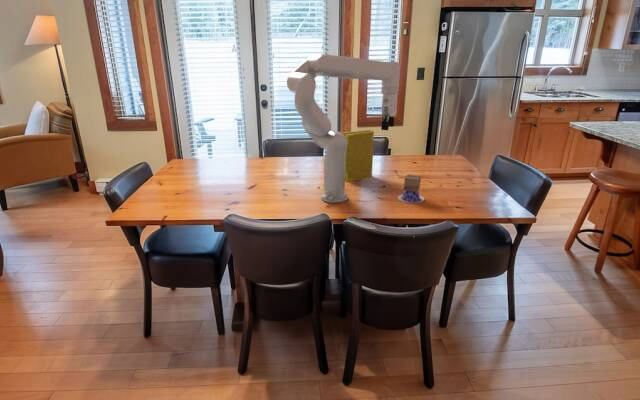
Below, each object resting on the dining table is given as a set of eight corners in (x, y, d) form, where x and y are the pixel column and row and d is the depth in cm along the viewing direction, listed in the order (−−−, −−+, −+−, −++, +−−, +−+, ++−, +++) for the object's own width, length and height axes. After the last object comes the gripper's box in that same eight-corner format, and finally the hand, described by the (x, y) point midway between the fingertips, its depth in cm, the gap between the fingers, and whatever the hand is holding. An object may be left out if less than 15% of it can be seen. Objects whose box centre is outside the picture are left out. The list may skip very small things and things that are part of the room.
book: (346, 181, 197) (346, 134, 187) (340, 178, 203) (341, 132, 193) (374, 177, 203) (376, 132, 193) (368, 174, 208) (369, 129, 199)
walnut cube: (416, 192, 167) (418, 179, 165) (403, 190, 170) (404, 177, 168) (419, 187, 172) (420, 175, 170) (406, 186, 175) (407, 174, 173)
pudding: (395, 202, 170) (395, 191, 168) (400, 193, 180) (401, 183, 179) (421, 206, 166) (422, 195, 164) (426, 197, 176) (427, 186, 174)
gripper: (393, 92, 160) (390, 132, 166) (402, 89, 174) (399, 125, 181) (376, 92, 163) (374, 131, 169) (386, 88, 177) (384, 124, 184)
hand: (387, 128), depth 175 cm, fingers open, 9 cm apart
